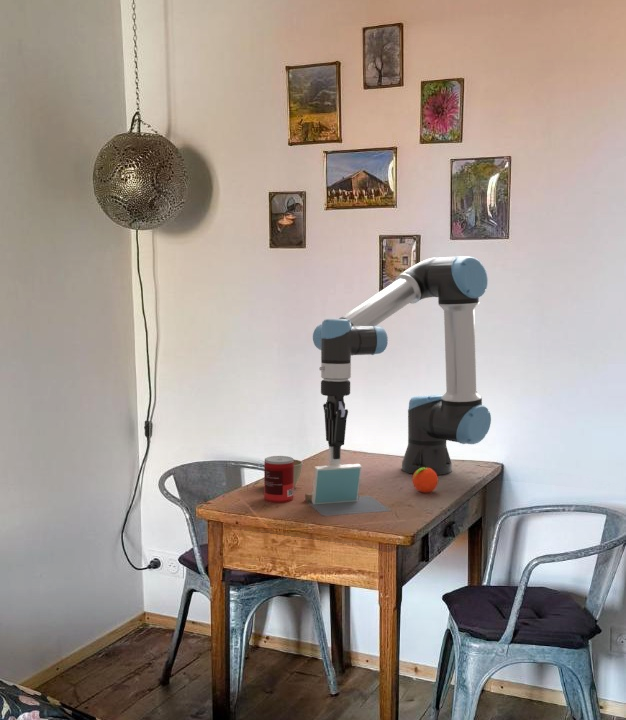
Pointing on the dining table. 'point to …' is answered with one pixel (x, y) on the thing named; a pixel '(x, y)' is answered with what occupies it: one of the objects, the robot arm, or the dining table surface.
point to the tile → (336, 483)
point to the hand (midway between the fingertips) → (334, 470)
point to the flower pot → (297, 470)
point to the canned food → (279, 479)
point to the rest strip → (309, 497)
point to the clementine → (425, 479)
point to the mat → (350, 507)
